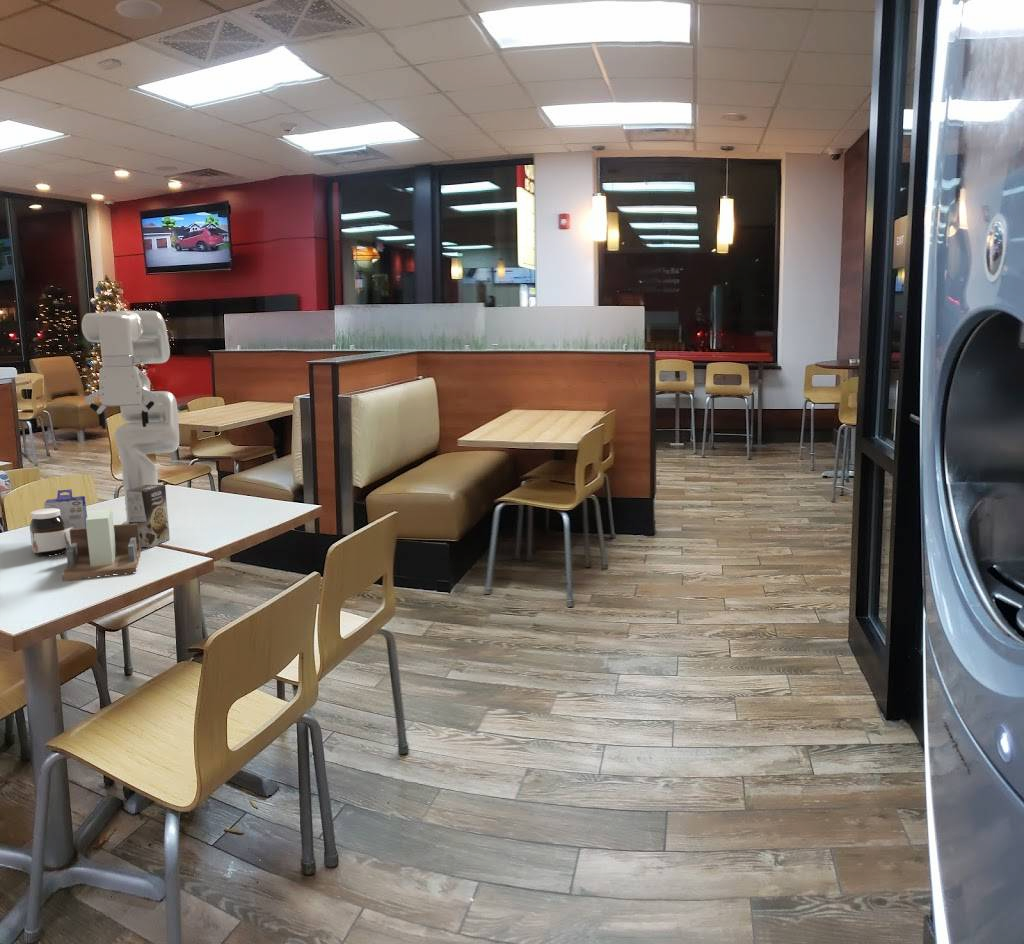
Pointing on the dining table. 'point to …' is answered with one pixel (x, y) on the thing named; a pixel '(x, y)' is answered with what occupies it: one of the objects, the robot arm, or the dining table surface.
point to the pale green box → (101, 537)
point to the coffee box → (149, 513)
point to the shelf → (122, 564)
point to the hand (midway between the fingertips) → (124, 427)
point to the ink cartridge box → (69, 509)
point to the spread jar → (48, 532)
